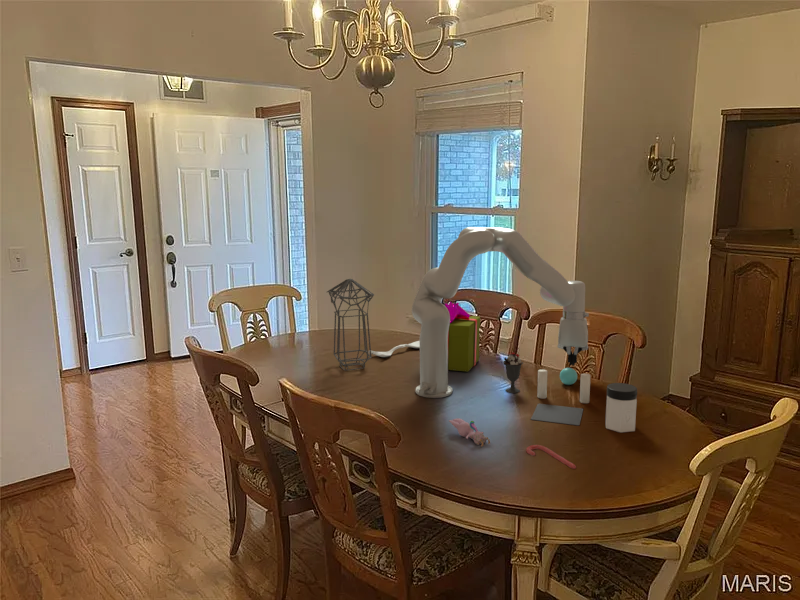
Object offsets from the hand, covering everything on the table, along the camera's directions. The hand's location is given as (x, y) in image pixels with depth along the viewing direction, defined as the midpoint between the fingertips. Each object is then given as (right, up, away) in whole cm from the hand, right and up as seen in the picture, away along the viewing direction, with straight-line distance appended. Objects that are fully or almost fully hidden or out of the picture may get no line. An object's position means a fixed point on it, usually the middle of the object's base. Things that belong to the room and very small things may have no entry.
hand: (572, 364), depth 220 cm
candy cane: (-24, -18, -64) cm, 71 cm away
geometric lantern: (-81, -3, +16) cm, 83 cm away
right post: (-3, -9, -25) cm, 27 cm away
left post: (-16, -9, -20) cm, 27 cm away
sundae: (-24, -8, -14) cm, 29 cm away
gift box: (-42, -2, +17) cm, 46 cm away
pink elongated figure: (-44, -15, -51) cm, 69 cm away
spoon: (-61, +1, +37) cm, 72 cm away
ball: (-4, -3, -9) cm, 10 cm away
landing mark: (-15, -11, -35) cm, 40 cm away
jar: (+1, -13, -45) cm, 47 cm away
